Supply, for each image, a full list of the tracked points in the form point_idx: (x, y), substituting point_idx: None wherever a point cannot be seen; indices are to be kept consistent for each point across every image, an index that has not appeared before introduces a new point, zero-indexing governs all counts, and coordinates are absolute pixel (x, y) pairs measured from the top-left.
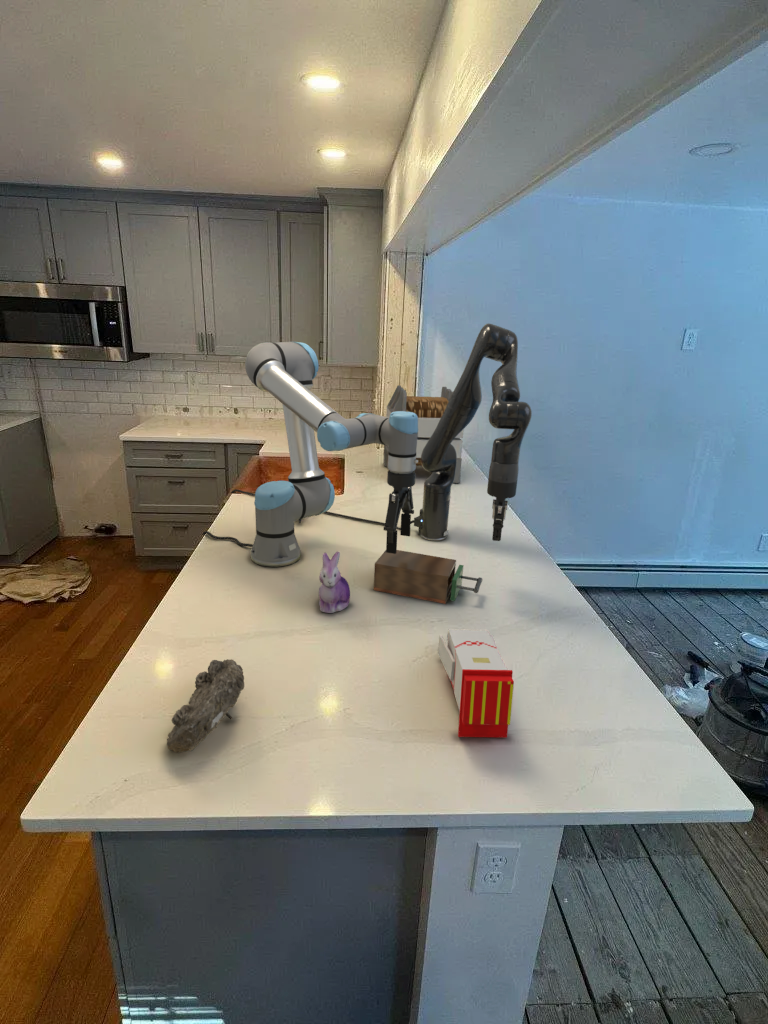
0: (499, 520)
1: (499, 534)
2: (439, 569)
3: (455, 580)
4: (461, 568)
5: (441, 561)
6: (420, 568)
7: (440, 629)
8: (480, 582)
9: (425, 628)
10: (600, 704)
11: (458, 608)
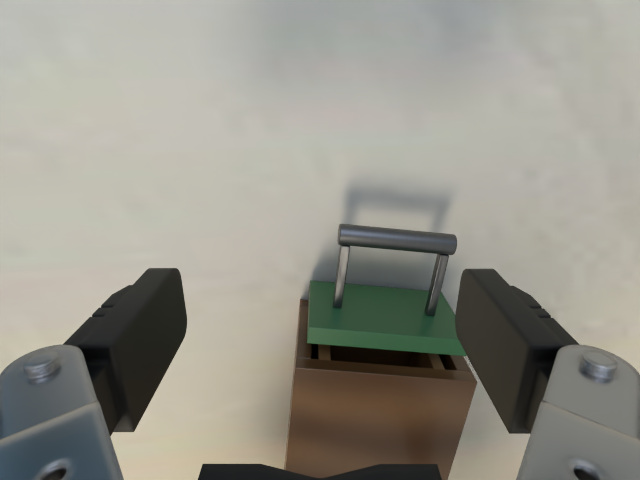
0: (140, 347)
1: (550, 320)
2: (416, 416)
3: None
4: (346, 332)
5: (332, 417)
6: None
7: (602, 308)
8: (384, 233)
9: (597, 346)
10: None
11: (462, 271)
